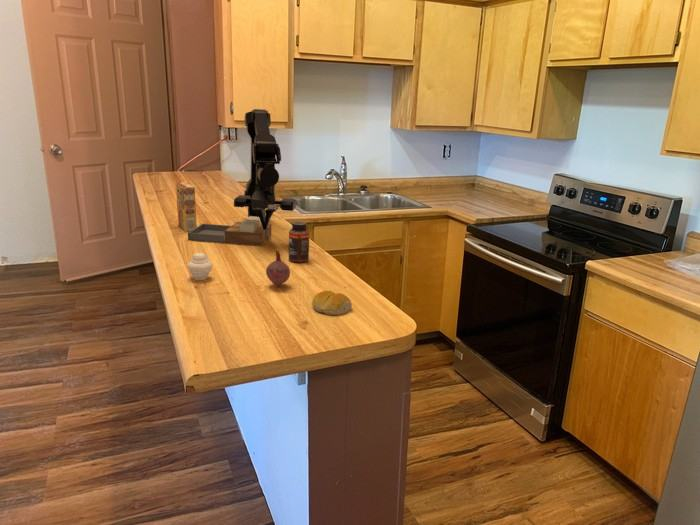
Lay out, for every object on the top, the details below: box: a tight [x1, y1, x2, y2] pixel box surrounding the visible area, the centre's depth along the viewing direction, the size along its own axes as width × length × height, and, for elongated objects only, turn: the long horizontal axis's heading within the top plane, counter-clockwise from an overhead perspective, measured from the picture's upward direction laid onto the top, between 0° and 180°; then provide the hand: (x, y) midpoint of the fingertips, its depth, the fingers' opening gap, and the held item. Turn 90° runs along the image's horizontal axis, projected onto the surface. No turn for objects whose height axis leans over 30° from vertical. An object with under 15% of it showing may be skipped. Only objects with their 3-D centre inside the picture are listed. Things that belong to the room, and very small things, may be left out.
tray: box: [187, 223, 232, 244], centre depth 178 cm, size 13×12×2 cm
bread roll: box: [311, 290, 353, 316], centre depth 124 cm, size 8×9×4 cm
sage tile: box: [240, 220, 257, 233], centre depth 172 cm, size 4×4×2 cm
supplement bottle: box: [288, 221, 310, 264], centre depth 157 cm, size 6×6×11 cm
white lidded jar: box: [187, 252, 213, 281], centre depth 138 cm, size 6×6×7 cm
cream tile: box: [245, 216, 262, 227], centre depth 179 cm, size 4×4×2 cm
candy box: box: [175, 182, 198, 232], centre depth 184 cm, size 9×4×15 cm, turn 33°
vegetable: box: [265, 248, 291, 287], centre depth 135 cm, size 6×6×10 cm
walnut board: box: [224, 221, 272, 247], centre depth 176 cm, size 13×12×4 cm
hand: (265, 229), depth 172 cm, fingers closed
